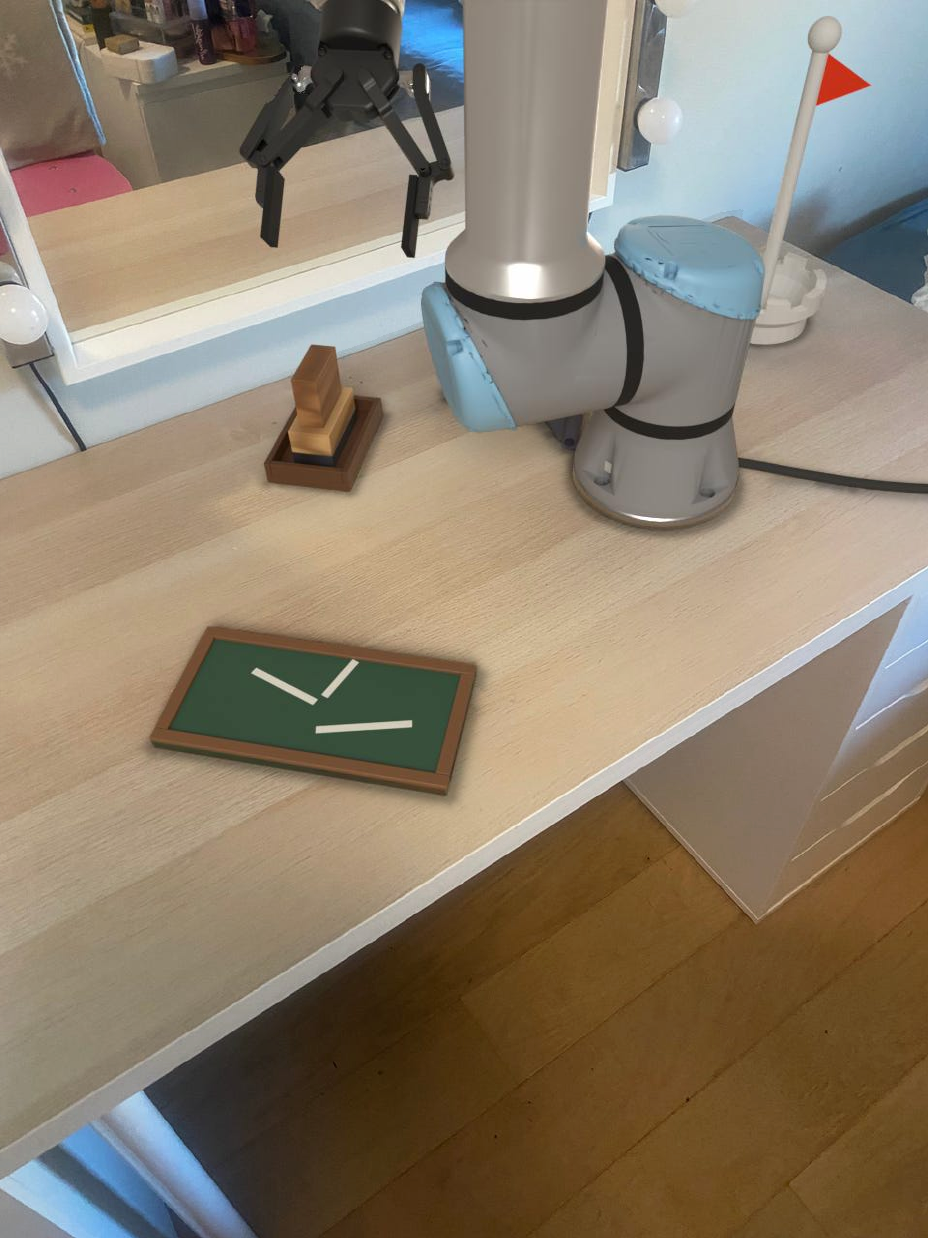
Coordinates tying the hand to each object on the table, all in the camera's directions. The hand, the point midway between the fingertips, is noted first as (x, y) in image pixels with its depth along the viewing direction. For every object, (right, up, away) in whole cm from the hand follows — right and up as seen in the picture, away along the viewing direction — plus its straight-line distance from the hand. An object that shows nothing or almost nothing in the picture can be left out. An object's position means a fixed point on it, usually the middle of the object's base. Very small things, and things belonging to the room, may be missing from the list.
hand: (337, 247), depth 84 cm
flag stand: (+46, 0, +20) cm, 50 cm away
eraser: (-2, -17, +4) cm, 18 cm away
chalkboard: (+1, -42, -17) cm, 45 cm away
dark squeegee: (+17, -12, +10) cm, 23 cm away
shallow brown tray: (-2, -18, +5) cm, 19 cm away
